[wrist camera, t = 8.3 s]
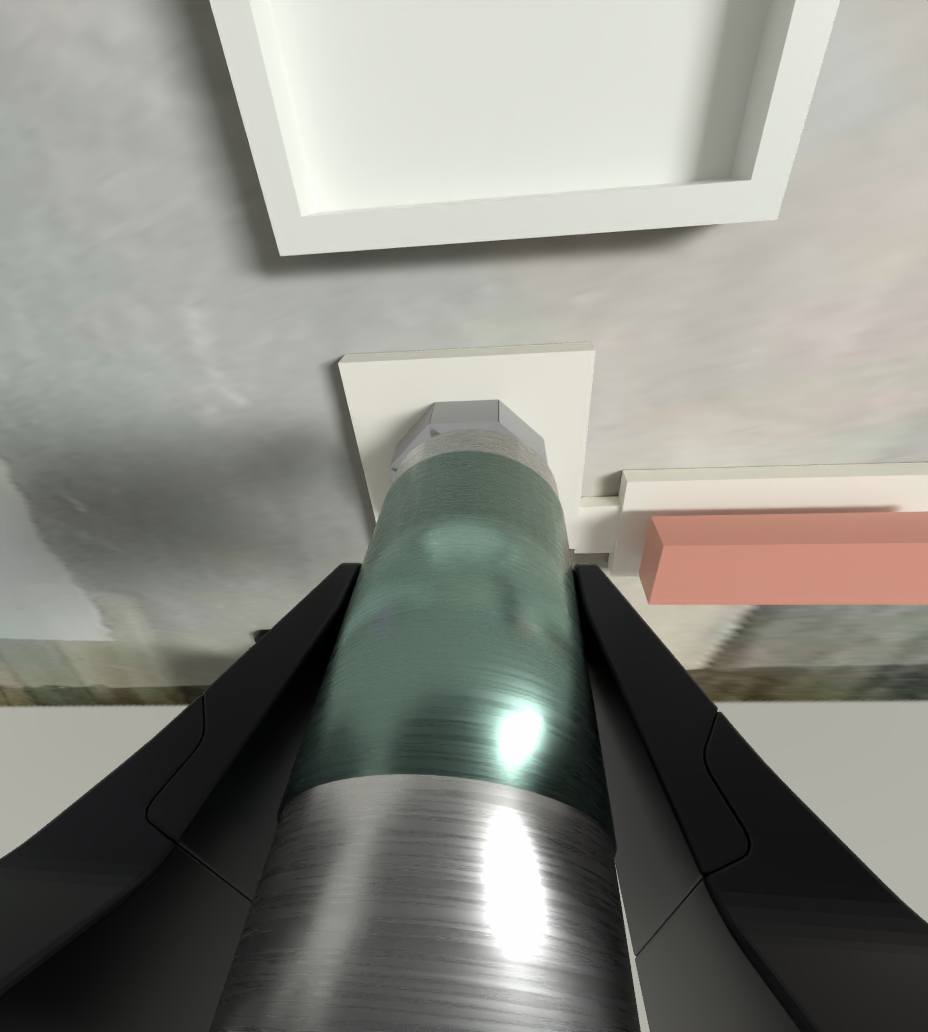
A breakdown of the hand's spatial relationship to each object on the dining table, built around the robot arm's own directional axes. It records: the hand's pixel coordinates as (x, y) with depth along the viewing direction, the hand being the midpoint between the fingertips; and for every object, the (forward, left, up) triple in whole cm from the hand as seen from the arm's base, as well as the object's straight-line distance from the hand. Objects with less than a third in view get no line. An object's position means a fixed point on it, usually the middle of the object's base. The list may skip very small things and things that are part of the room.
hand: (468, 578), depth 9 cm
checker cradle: (+7, -5, -12) cm, 15 cm away
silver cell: (0, 0, -3) cm, 2 cm away
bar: (+13, -8, -10) cm, 19 cm away
